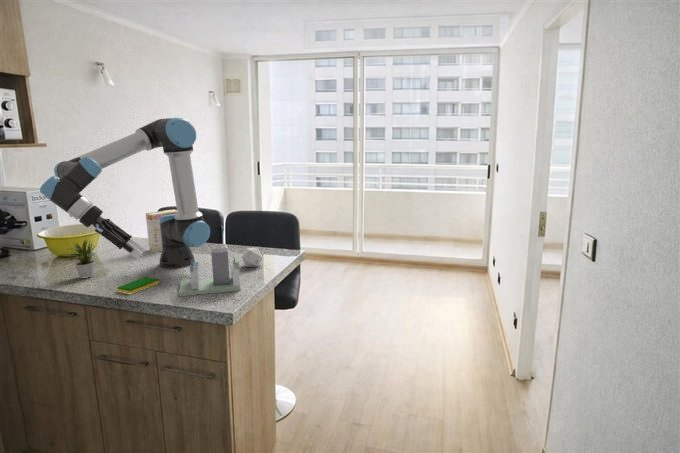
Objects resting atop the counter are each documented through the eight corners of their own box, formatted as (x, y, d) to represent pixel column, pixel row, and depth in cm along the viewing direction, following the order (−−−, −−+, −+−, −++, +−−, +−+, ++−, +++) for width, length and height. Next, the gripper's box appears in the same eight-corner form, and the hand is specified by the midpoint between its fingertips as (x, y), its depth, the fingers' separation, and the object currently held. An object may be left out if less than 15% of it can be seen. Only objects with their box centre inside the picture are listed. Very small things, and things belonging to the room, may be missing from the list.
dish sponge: (159, 284, 177) (159, 278, 177) (130, 295, 165) (130, 289, 164) (146, 282, 180) (146, 276, 179) (117, 293, 168) (116, 287, 167)
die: (252, 271, 193) (265, 251, 194) (235, 261, 194) (247, 241, 195) (256, 272, 201) (268, 253, 203) (239, 262, 202) (251, 243, 203)
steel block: (213, 281, 174) (211, 249, 172) (229, 279, 176) (227, 247, 173) (213, 286, 169) (211, 253, 166) (229, 284, 170) (227, 251, 167)
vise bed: (181, 284, 176) (179, 257, 173) (238, 278, 181) (236, 253, 179) (179, 296, 162) (176, 267, 160) (240, 290, 168) (238, 262, 166)
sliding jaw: (193, 279, 176) (191, 259, 174) (199, 278, 176) (198, 258, 175) (191, 290, 164) (189, 268, 162) (198, 289, 164) (196, 268, 162)
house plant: (69, 273, 191) (64, 236, 187) (105, 269, 196) (100, 233, 193) (63, 283, 178) (58, 244, 174) (102, 278, 183) (97, 240, 180)
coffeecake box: (177, 244, 238) (174, 209, 234) (182, 247, 233) (179, 210, 229) (148, 249, 229) (145, 212, 225) (154, 252, 223) (150, 214, 219)
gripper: (85, 216, 163) (138, 255, 171) (70, 225, 146) (130, 268, 154) (99, 201, 164) (152, 241, 171) (86, 208, 147) (145, 252, 154)
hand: (141, 254), depth 163 cm, fingers open, 5 cm apart
